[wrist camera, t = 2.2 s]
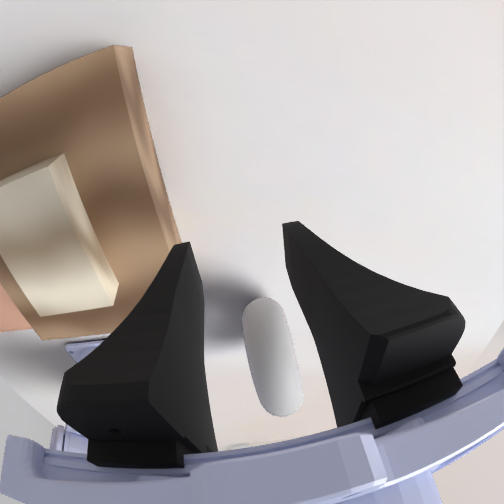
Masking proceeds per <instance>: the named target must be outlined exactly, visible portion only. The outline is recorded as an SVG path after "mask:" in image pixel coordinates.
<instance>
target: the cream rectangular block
mask: <svg viewBox="0 0 504 504" xmlns="http://www.w3.org/2000/svg"><path fill="white" fill-rule="evenodd" d="M0 255H1V257H2V258H3V260H4V262H5V264H6V265H7V267H8V269H9V270H10V272H11V274H12V275H13V277H14V278H15V280H16V282H17V283H18V285H19V286H20V288H21V289H22V291H23V292H24V294H25V295H26V297H27V298H28V300H29V301H30V303H31V304H32V306H33V307H34V308H35V310H36V311H37V313H38V314H39V315H40V317H42V316H49V315H56V314H63V313H70V312H76V311H83V310H89V309H96V308H102V307H108V306H113V305H114V301H115V297H116V293H117V289H118V285H119V283H118V281H117V279H116V277H115V275H114V273H113V271H112V269H111V266H110V264H109V262H108V260H107V258H106V256H105V254H104V252H103V250H102V247H101V245H100V243H99V241H98V239H97V236H96V234H95V232H94V230H93V227H92V225H91V223H90V220H89V218H88V215H87V213H86V211H85V208H84V206H83V203H82V201H81V198H80V196H79V193H78V190H77V188H76V185H75V182H74V180H73V177H72V174H71V171H70V169H69V166H68V163H67V160H66V157H65V154H64V153H62V154H59V155H57V156H54V157H52V158H49V159H47V160H44V161H42V162H40V163H37V164H35V165H32V166H30V167H28V168H26V169H23V170H21V171H19V172H17V173H15V174H12V175H10V176H8V177H6V178H4V179H2V180H0Z"/></svg>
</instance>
